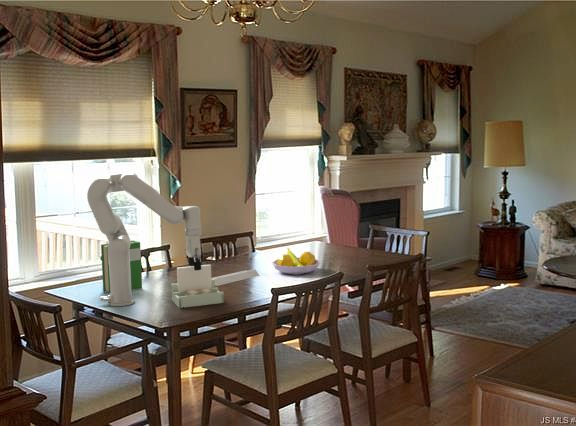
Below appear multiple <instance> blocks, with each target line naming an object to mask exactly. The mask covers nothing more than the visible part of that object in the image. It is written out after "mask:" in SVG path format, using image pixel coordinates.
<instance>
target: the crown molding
mask: <svg viewBox="0 0 576 426" xmlns="http://www.w3.org/2000/svg"><path fill="white" fill-rule="evenodd" d="M256 277H260V274H259V273H258V271H257V270H256V269H255V268H254V269H251V270H247V269H245V270H241V271H236V272H232V273H227V274H224V275H219V276H214V277H211V280H213V279H214V280H215V287H218V286H222V285H226V284H231V283H235V282H238V281H242V280H243V281H244V280H247V279H252V278H256Z"/></svg>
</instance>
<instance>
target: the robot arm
mask: <svg viewBox="0 0 576 426" xmlns="http://www.w3.org/2000/svg"><path fill="white" fill-rule="evenodd" d="M117 192H126V193H127V194H129V195H130V196H132V197H133V198H135V199H136V200H138V201H139V202H140V203H142V204H143V205H145V206H146V207H147V208H148V209H150V210H151V211H152V212H154V213H155V214H156V215H158V216H159V217H160V218H162V219H164V220H165V221H166V222H168V223H170V224H172V225H178V224H181V222H184V223H183V224H184V237H185V249H186V250H185V253H186V256H188V267H189V266H194V270H195V271H196V270H201V265H202V259H201V256H202V249H201V246H202V245H201V238H200V236H202V225H201V223H202V221H201V208H200V207H199V206H196V205H189V206H181V205H180V206H179V205H173V204H172V203H170V202H169V201H168V200H167V199H165V198H164V197H163V196H162V195H161V194H160V193H159V191H158V190H157V189H155V187H153V186H151V185H149V184H148V183H147V182H145V181H143V179H141V178H139V176H138V175H137V174H136V173H135V172H132V171H131V172H129V171H128V172H120V173H112V174H105V175H101V176H98V177H97V178H95V179H94V180H93V181H92V183H90V186H89V187H88V189H87V194H86V195H87V197H86V198H87V202H88V207H90V210H91V212H92V215H93V217H94V220H95V221H96V224H97V226H98V229H99V230H100V232H101V233H102V234H104V235H105V236H106V238H107V241H108V243H107V244H108V259H109V273H110V293H109V292H108V295H106V296H104V295H103V296H99V299H100V301H103V302H107V305H108V306H110V305H111V307H125V306H126V305H127V306H130V305H133V304H135V303H136V299H135V298H133V297H132V295H133V293H132V290H131V271H130V256H129V249H130V246H131V241H132V240H131V238H130V236H129V234H128V232H127V229H126V227H125V225H124V223H123V220H122V219H121V217H120V216H119V215H118V214H116V213H114V211H113V209H112V207H111V204H110V202H109V199H108V198H107V197H108V195H109V194H111V193H117Z"/></svg>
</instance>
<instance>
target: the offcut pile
mask: <svg viewBox="0 0 576 426" xmlns="http://www.w3.org/2000/svg"><path fill="white" fill-rule="evenodd" d="M207 293H212V291H211V290H210V289H208V288H206V289H197V290H188V291H185V295H186V296H189V295H198V294H207Z"/></svg>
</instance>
